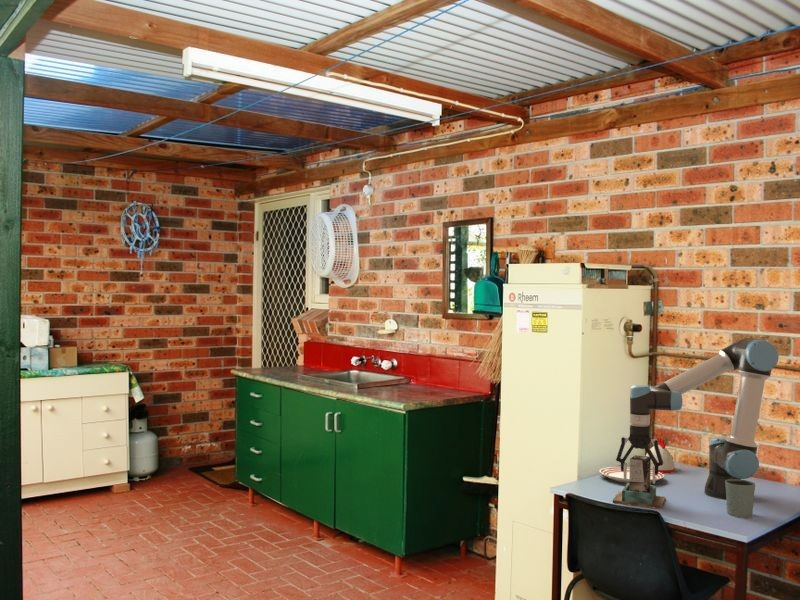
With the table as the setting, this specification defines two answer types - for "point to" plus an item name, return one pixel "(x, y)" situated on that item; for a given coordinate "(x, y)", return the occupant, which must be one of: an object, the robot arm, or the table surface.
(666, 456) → the kitchen timer
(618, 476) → the dinner plate
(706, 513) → the table surface
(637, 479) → the coffee box
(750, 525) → the table surface
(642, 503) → the holder tray
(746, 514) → the grey green cup
